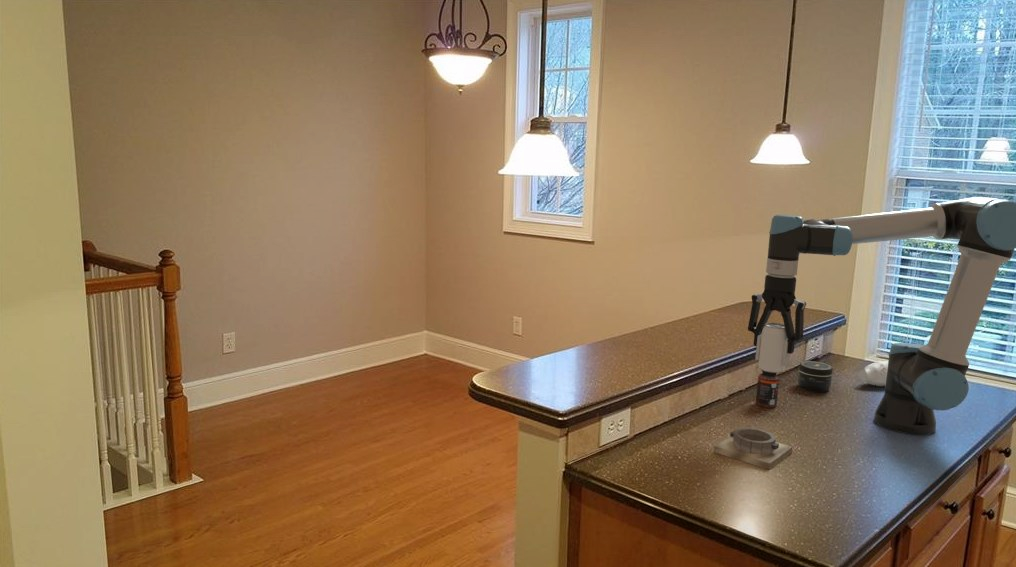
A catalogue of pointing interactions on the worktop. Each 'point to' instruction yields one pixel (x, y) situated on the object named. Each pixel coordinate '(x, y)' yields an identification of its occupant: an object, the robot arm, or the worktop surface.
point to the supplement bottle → (767, 390)
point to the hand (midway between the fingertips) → (771, 361)
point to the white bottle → (874, 373)
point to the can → (772, 348)
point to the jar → (815, 376)
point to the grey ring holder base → (753, 447)
